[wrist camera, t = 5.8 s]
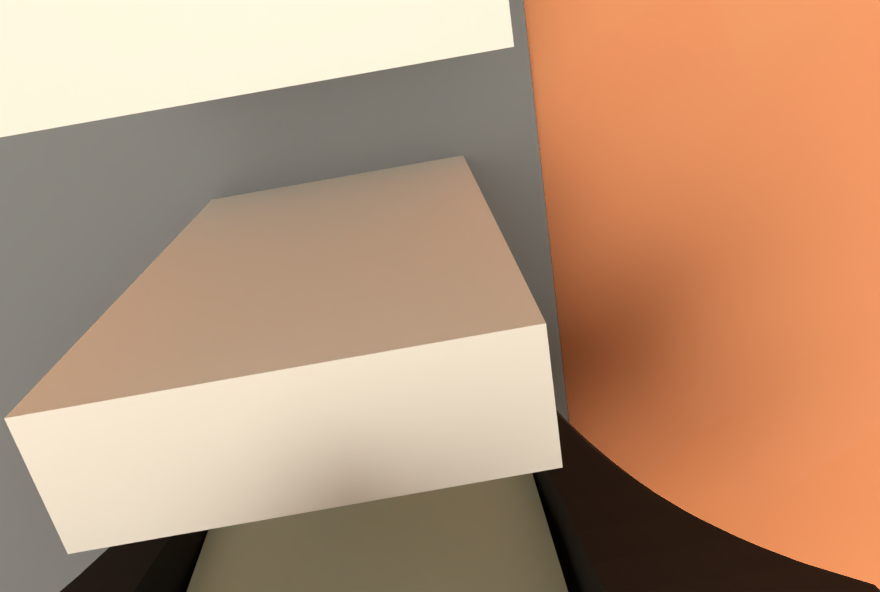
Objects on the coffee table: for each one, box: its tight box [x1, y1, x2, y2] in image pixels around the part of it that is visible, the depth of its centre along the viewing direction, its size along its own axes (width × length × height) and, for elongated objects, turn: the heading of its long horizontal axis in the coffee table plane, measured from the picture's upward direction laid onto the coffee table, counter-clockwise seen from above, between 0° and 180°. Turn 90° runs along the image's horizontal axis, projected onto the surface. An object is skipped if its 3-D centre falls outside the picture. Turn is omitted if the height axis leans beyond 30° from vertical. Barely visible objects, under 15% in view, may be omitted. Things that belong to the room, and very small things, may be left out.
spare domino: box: [187, 473, 568, 592], centre depth 11 cm, size 2×5×8 cm, turn 99°
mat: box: [0, 0, 569, 592], centre depth 16 cm, size 20×18×1 cm
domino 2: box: [4, 155, 563, 554], centre depth 10 cm, size 2×5×8 cm, turn 99°
